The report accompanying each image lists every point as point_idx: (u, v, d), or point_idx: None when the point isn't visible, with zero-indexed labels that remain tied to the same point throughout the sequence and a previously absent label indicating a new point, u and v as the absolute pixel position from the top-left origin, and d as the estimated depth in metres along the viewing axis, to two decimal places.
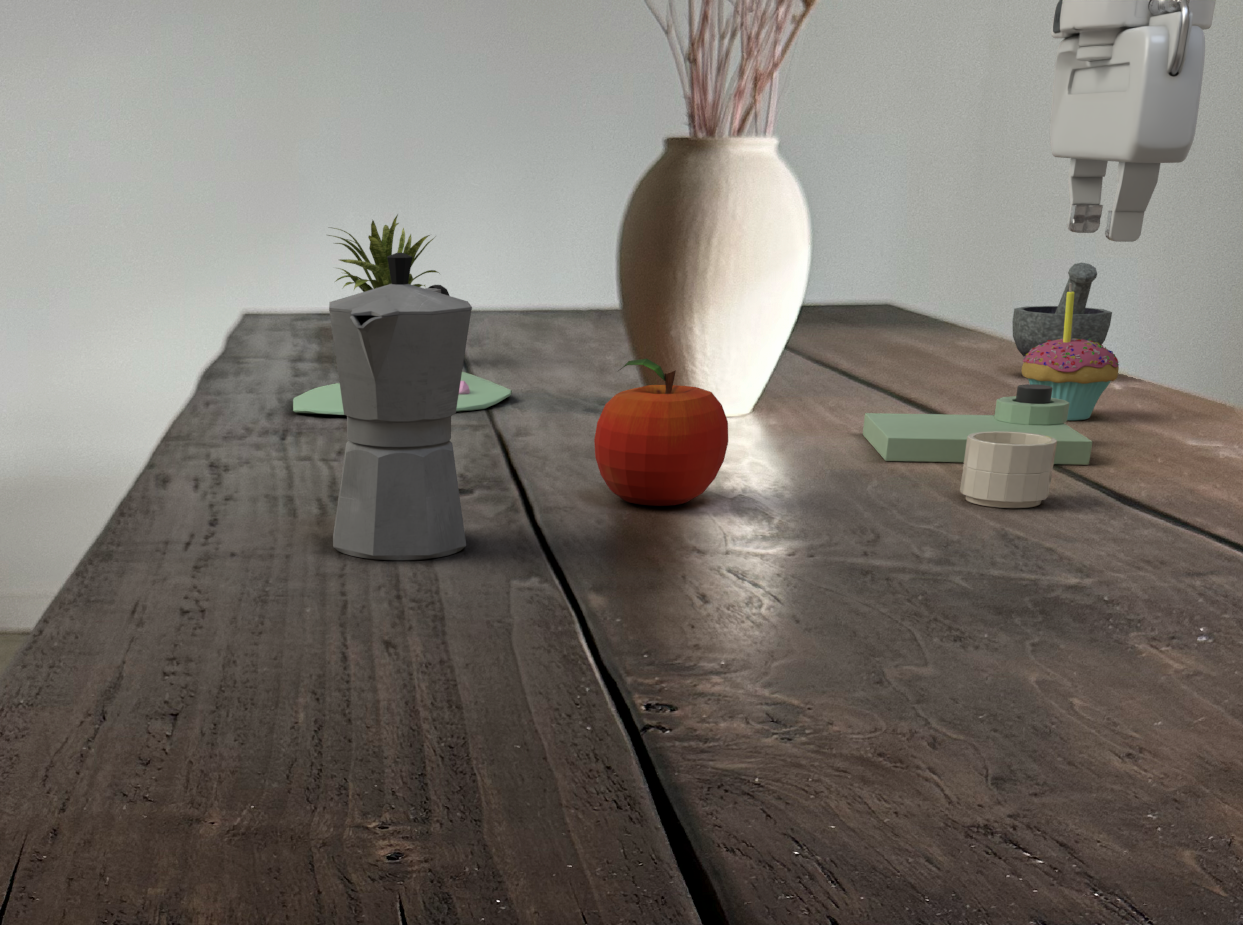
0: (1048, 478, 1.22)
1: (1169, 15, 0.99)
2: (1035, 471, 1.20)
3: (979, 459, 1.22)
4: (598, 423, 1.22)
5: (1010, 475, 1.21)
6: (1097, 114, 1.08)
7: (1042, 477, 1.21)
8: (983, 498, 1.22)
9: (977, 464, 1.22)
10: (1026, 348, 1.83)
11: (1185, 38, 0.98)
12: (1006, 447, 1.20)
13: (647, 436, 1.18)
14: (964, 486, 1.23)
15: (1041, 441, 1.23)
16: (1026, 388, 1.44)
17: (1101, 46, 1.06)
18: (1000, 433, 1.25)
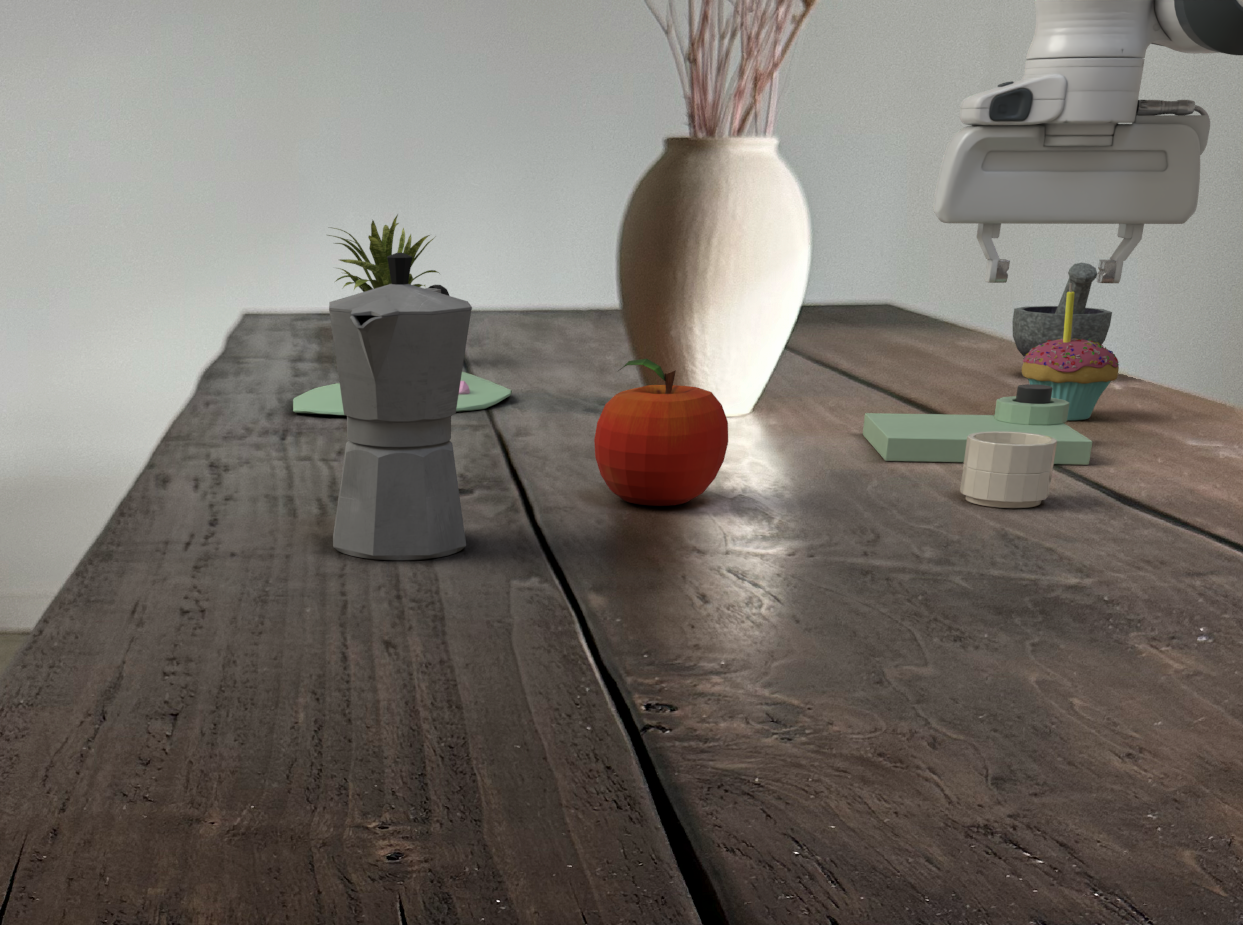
0: (1048, 478, 1.22)
1: (1186, 117, 1.35)
2: (1035, 471, 1.20)
3: (979, 459, 1.22)
4: (598, 423, 1.22)
5: (1010, 475, 1.21)
6: (1089, 188, 1.37)
7: (1042, 477, 1.21)
8: (983, 498, 1.22)
9: (977, 464, 1.22)
10: (1026, 348, 1.83)
11: None
12: (1006, 447, 1.20)
13: (646, 436, 1.18)
14: (964, 486, 1.23)
15: (1041, 441, 1.23)
16: (1026, 388, 1.44)
17: (1107, 136, 1.35)
18: (1000, 433, 1.25)
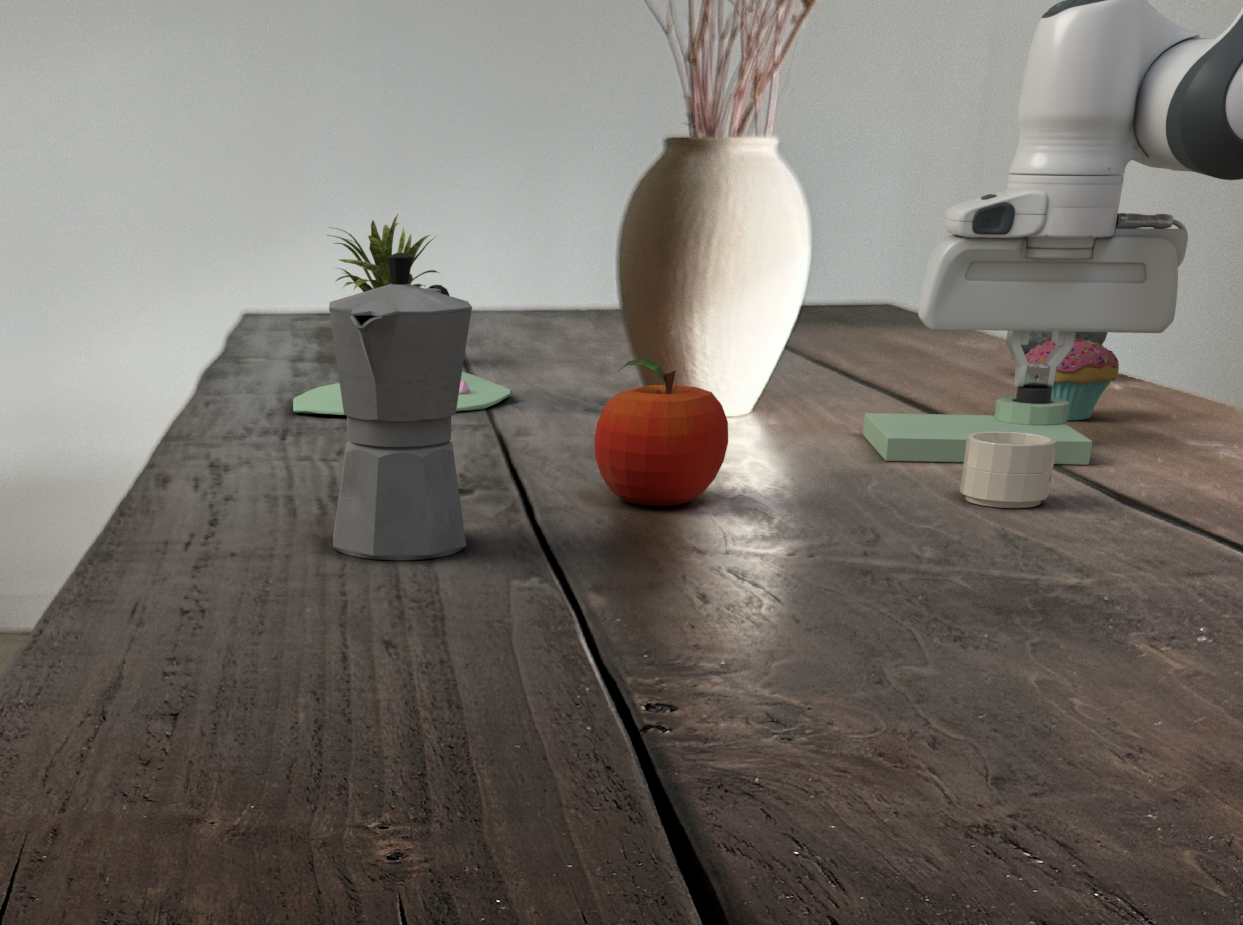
0: (1048, 478, 1.22)
1: (1164, 230, 1.39)
2: (1035, 471, 1.20)
3: (979, 459, 1.22)
4: (598, 423, 1.22)
5: (1010, 475, 1.21)
6: (1070, 298, 1.40)
7: (1042, 477, 1.21)
8: (983, 498, 1.22)
9: (977, 464, 1.22)
10: (1026, 348, 1.83)
11: None
12: (1006, 447, 1.20)
13: (646, 436, 1.18)
14: (964, 486, 1.23)
15: (1041, 441, 1.23)
16: (1026, 389, 1.44)
17: (1087, 249, 1.38)
18: (1000, 433, 1.25)
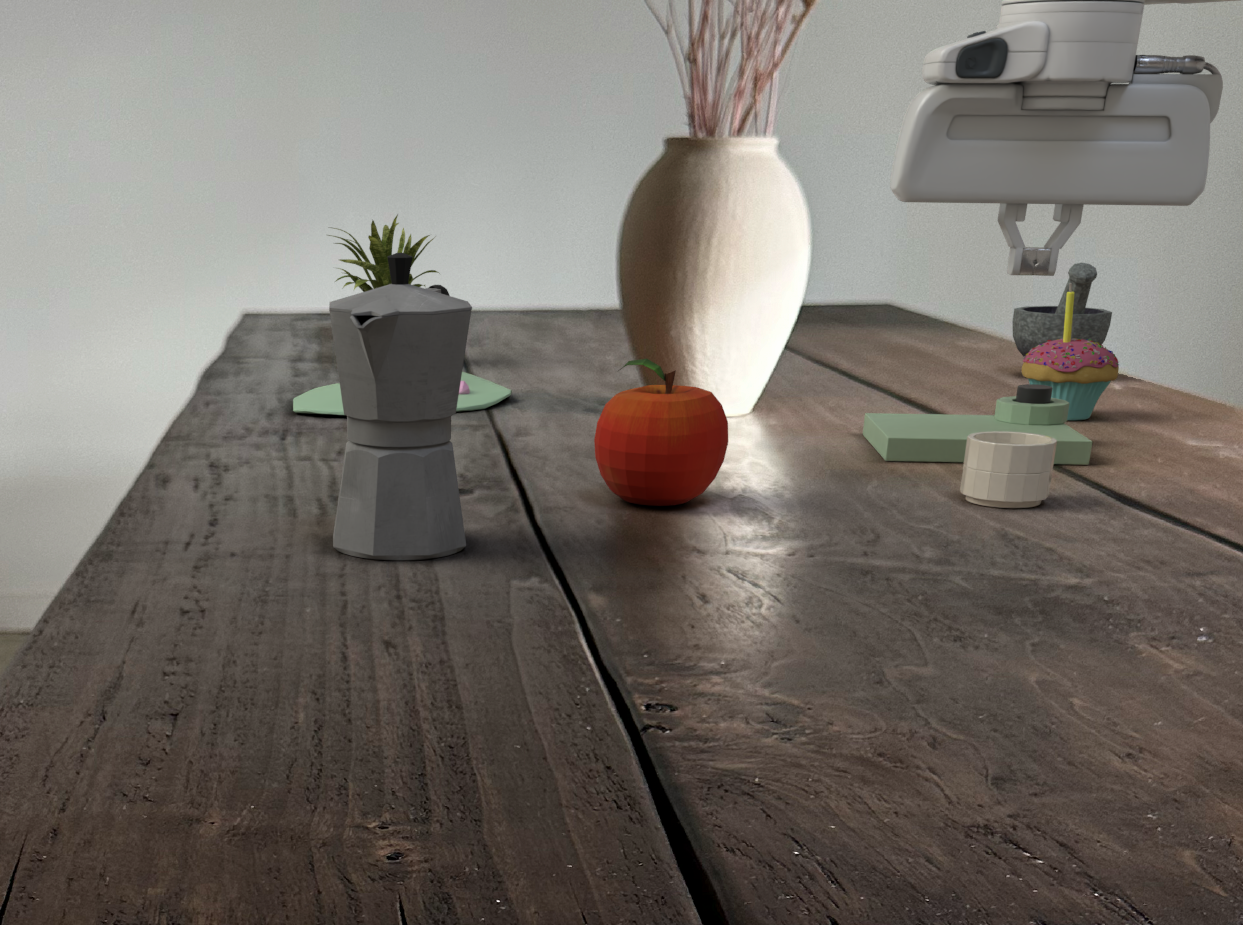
0: (1048, 478, 1.22)
1: (1194, 76, 1.12)
2: (1035, 471, 1.20)
3: (979, 459, 1.22)
4: (598, 423, 1.22)
5: (1010, 475, 1.21)
6: (1076, 161, 1.14)
7: (1042, 477, 1.21)
8: (983, 498, 1.22)
9: (977, 464, 1.22)
10: (1026, 348, 1.83)
11: None
12: (1006, 447, 1.20)
13: (646, 436, 1.18)
14: (964, 486, 1.23)
15: (1041, 441, 1.23)
16: (1026, 388, 1.44)
17: (1098, 98, 1.12)
18: (1000, 433, 1.25)
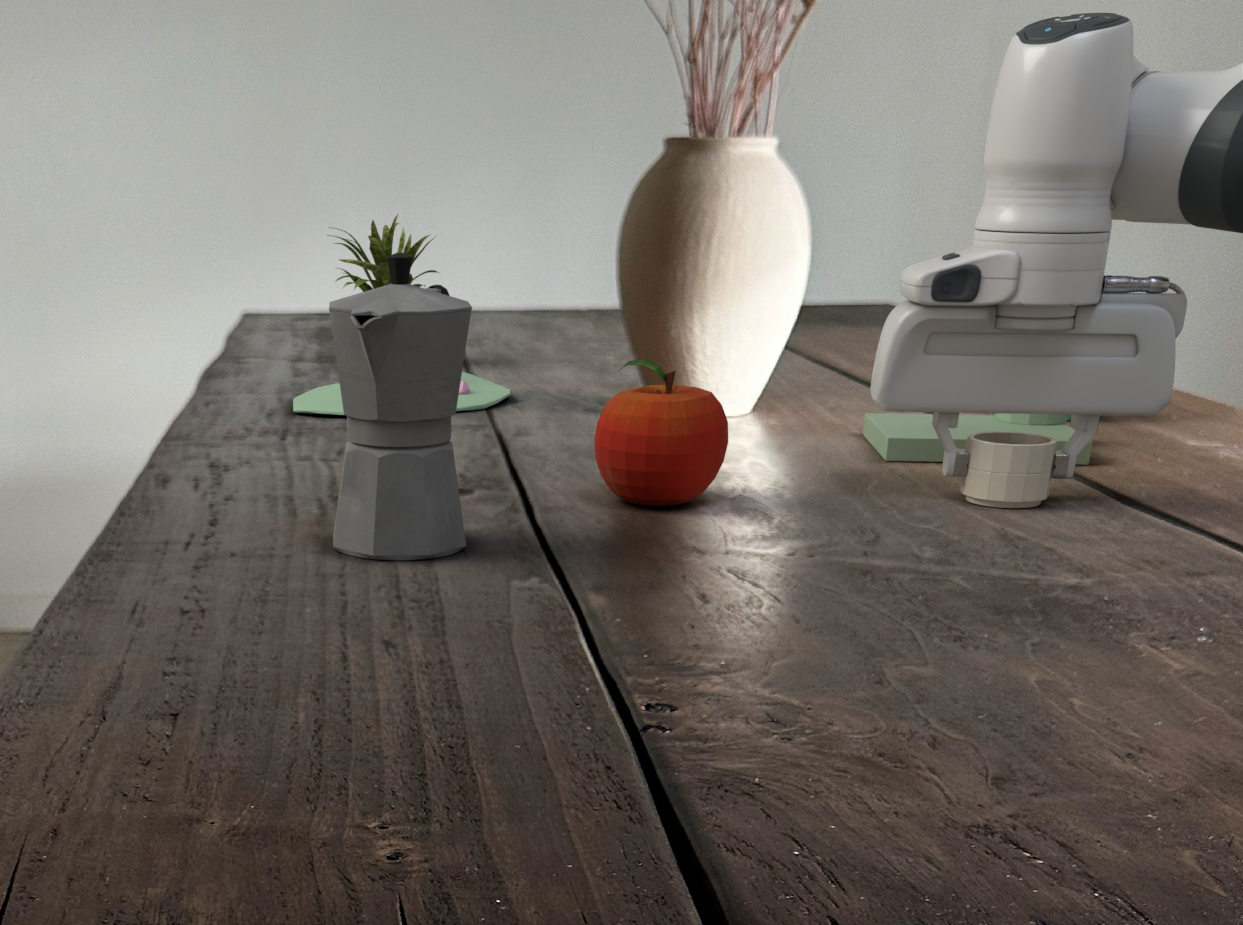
0: (1048, 478, 1.22)
1: (1159, 295, 1.17)
2: (1035, 471, 1.20)
3: (979, 459, 1.22)
4: (598, 423, 1.22)
5: (1010, 475, 1.21)
6: (1048, 375, 1.19)
7: (1042, 477, 1.21)
8: (983, 498, 1.22)
9: (977, 464, 1.22)
10: None
11: None
12: (1006, 447, 1.20)
13: (646, 436, 1.18)
14: (964, 486, 1.23)
15: (1041, 441, 1.23)
16: None
17: (1068, 318, 1.17)
18: (1000, 433, 1.25)
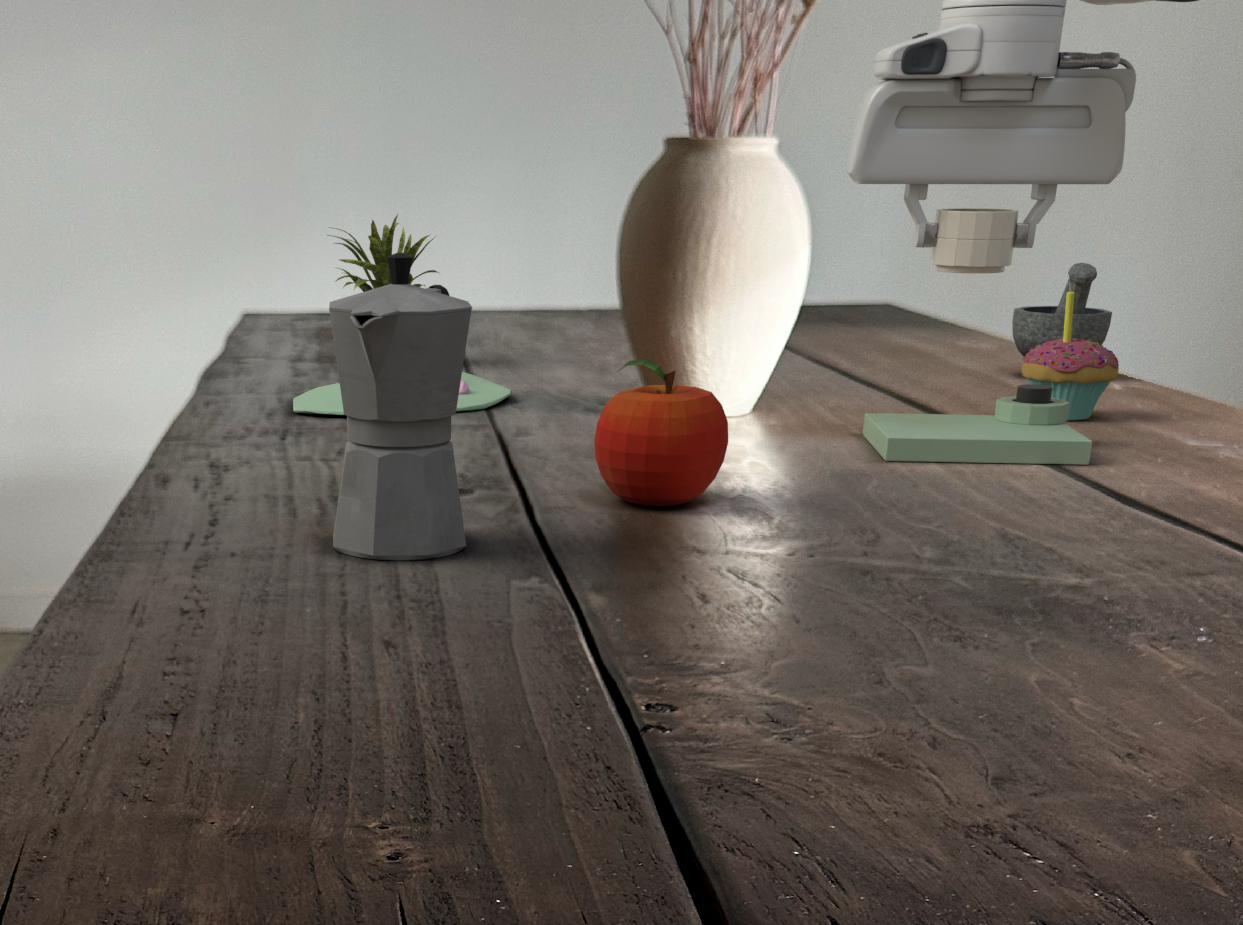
0: (1010, 245, 1.32)
1: (1110, 70, 1.28)
2: (998, 237, 1.31)
3: (947, 228, 1.32)
4: (598, 423, 1.22)
5: (975, 241, 1.31)
6: (1009, 146, 1.29)
7: (1005, 243, 1.32)
8: (951, 264, 1.33)
9: (945, 232, 1.32)
10: (1026, 348, 1.83)
11: None
12: (971, 214, 1.31)
13: (646, 436, 1.18)
14: (933, 256, 1.34)
15: None
16: (1026, 388, 1.44)
17: (1027, 90, 1.27)
18: (967, 209, 1.35)
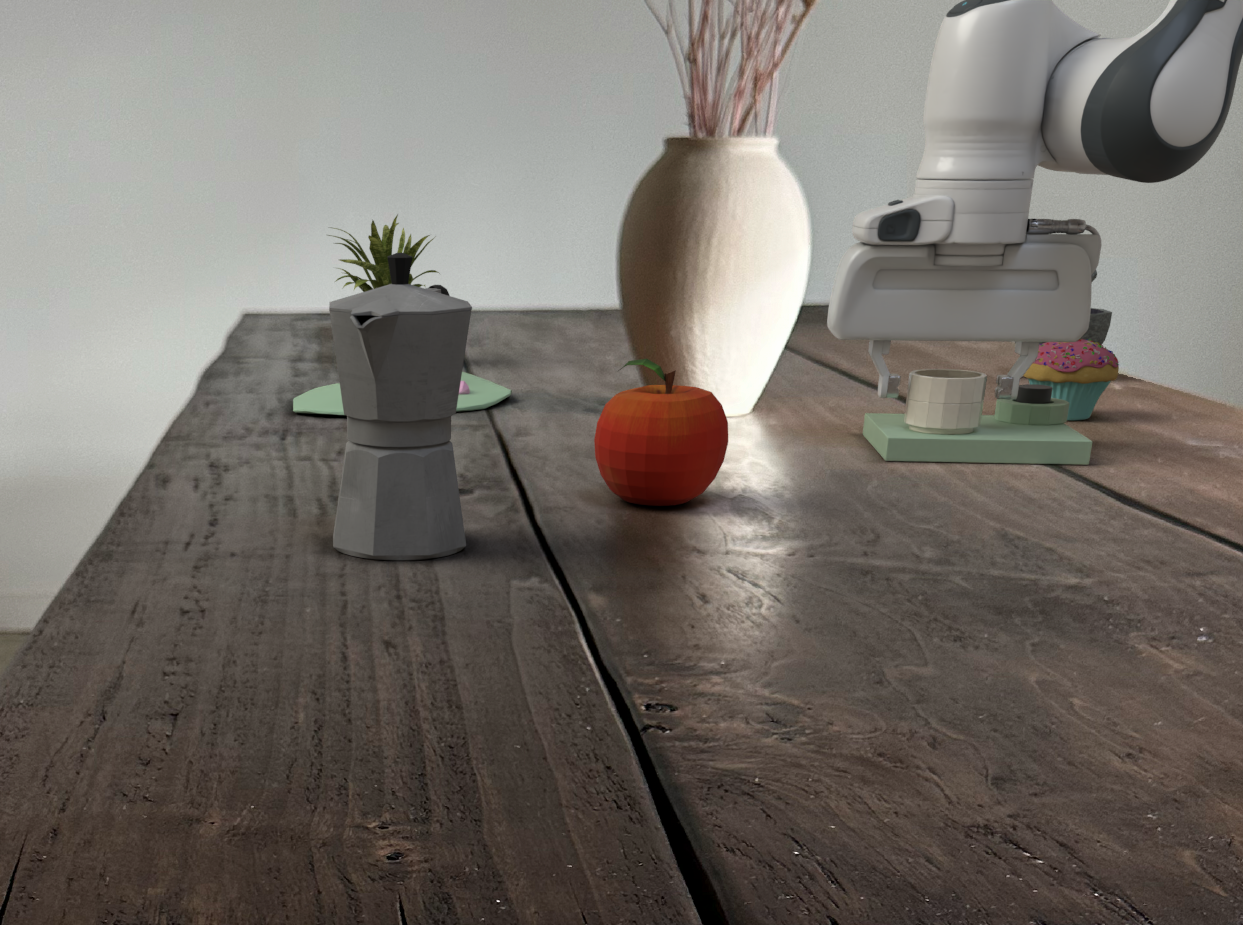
0: (979, 408, 1.39)
1: (1077, 236, 1.34)
2: (967, 402, 1.38)
3: (919, 391, 1.39)
4: (598, 423, 1.22)
5: (945, 405, 1.38)
6: (981, 306, 1.36)
7: (974, 407, 1.39)
8: (923, 426, 1.40)
9: (917, 396, 1.39)
10: None
11: None
12: (942, 380, 1.38)
13: (646, 436, 1.18)
14: (907, 416, 1.41)
15: (974, 376, 1.41)
16: (1026, 388, 1.44)
17: (997, 256, 1.34)
18: (939, 370, 1.42)
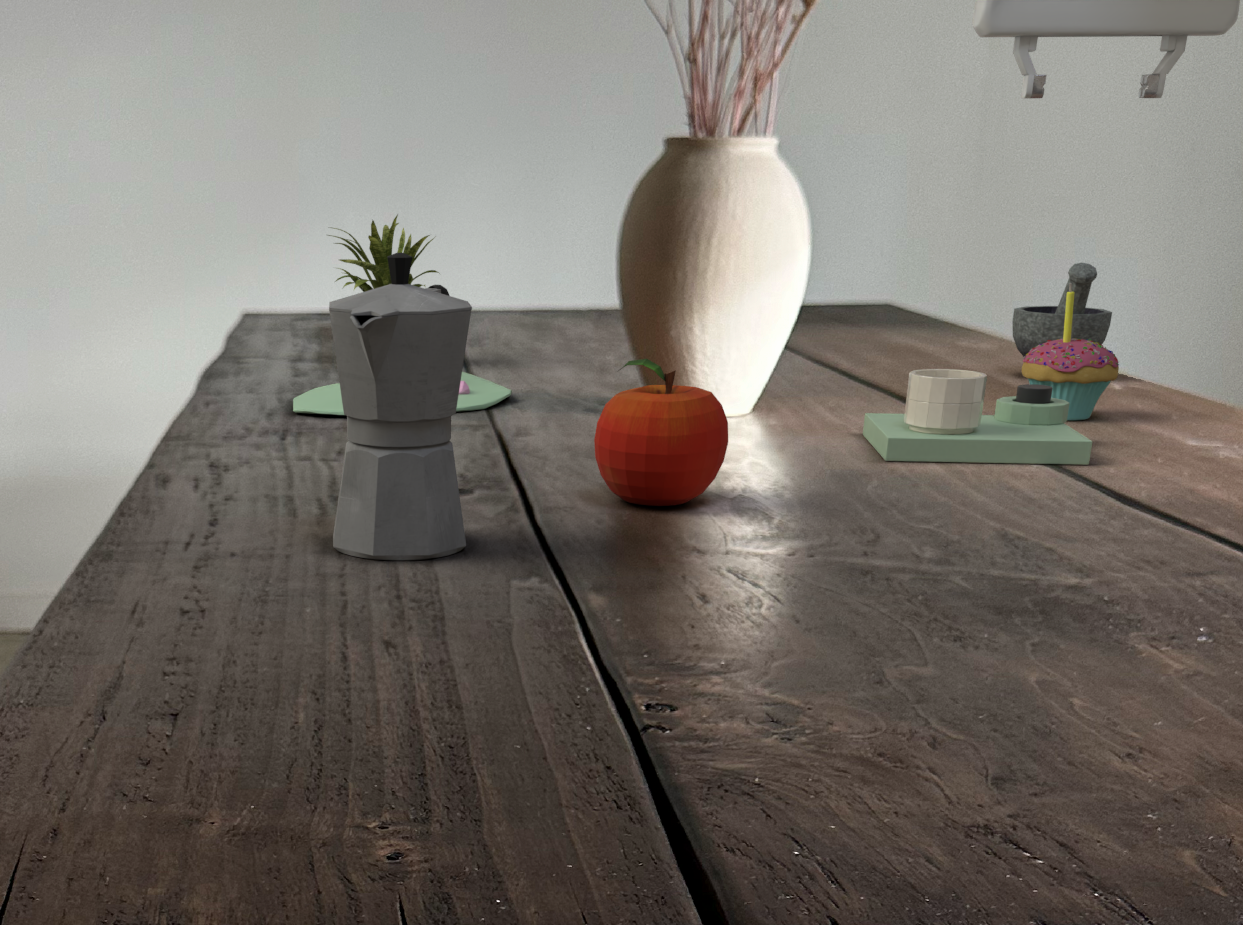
0: (979, 408, 1.39)
1: None
2: (967, 402, 1.38)
3: (919, 391, 1.39)
4: (598, 423, 1.22)
5: (945, 405, 1.38)
6: None
7: (974, 407, 1.39)
8: (923, 426, 1.40)
9: (917, 396, 1.39)
10: (1026, 348, 1.83)
11: None
12: (942, 380, 1.38)
13: (646, 436, 1.18)
14: (907, 416, 1.41)
15: (974, 376, 1.41)
16: (1026, 388, 1.44)
17: None
18: (939, 370, 1.42)
